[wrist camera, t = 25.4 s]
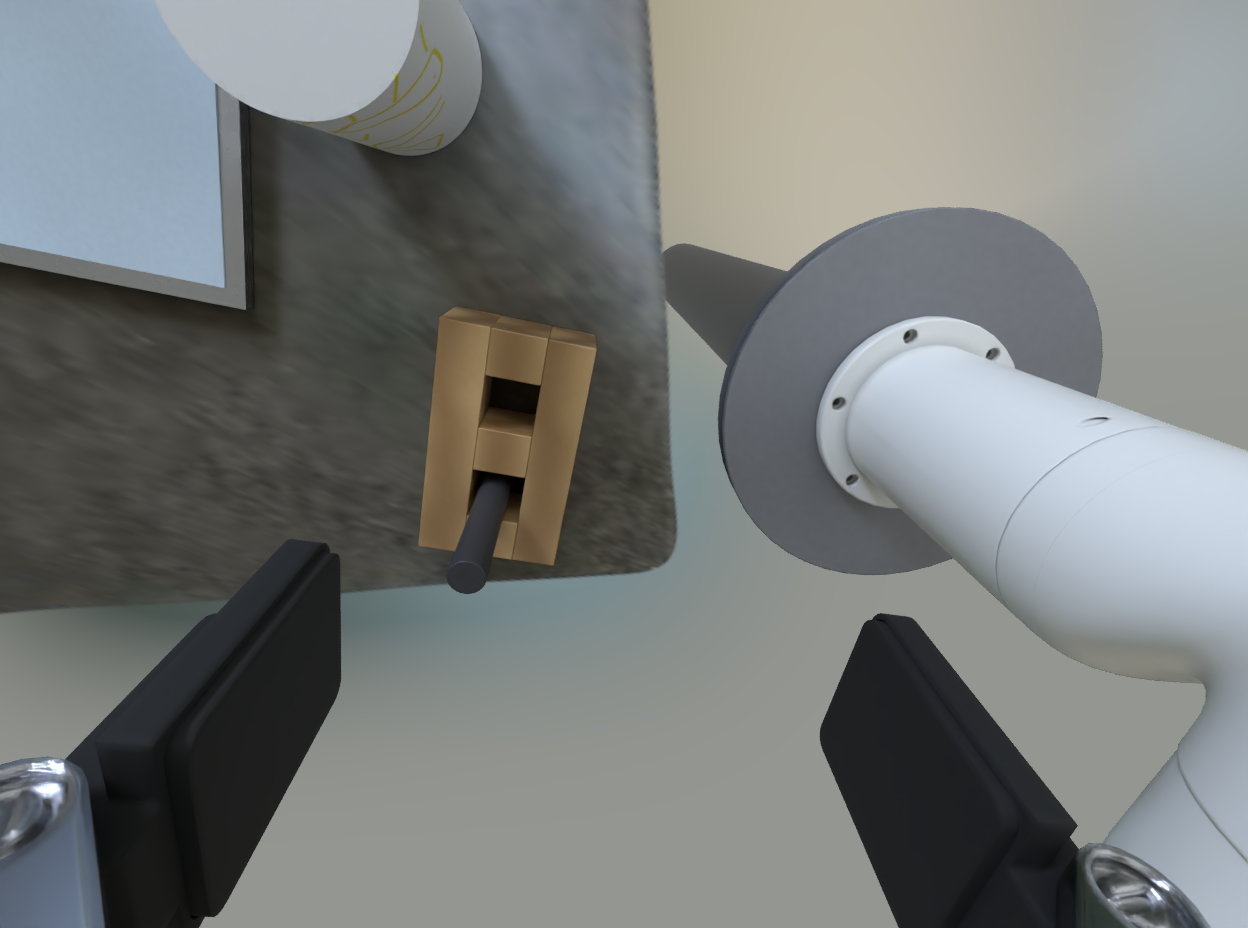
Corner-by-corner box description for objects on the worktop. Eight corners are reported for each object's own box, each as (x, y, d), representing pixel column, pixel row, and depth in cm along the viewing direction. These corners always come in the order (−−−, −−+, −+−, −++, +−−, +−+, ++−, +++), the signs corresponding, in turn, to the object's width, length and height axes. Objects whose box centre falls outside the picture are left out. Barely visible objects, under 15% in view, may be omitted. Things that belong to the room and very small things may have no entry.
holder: (595, 334, 34) (597, 348, 31) (556, 533, 40) (553, 566, 36) (455, 305, 33) (439, 316, 30) (434, 514, 38) (418, 546, 35)
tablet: (245, -16, 27) (233, -24, 26) (254, 307, 33) (244, 310, 32) (-266, -153, 24) (-299, -167, 23) (-159, 226, 30) (-183, 227, 29)
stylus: (516, 461, 37) (488, 564, 26) (512, 486, 38) (483, 597, 27) (488, 456, 37) (447, 558, 26) (485, 481, 38) (444, 591, 27)
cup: (339, 163, 30) (198, 133, 19) (288, -34, 27) (81, -206, 16) (495, 147, 30) (445, 108, 19) (463, -51, 27) (379, -234, 16)
